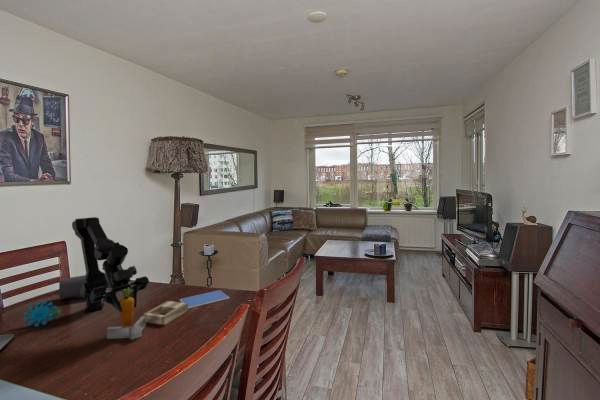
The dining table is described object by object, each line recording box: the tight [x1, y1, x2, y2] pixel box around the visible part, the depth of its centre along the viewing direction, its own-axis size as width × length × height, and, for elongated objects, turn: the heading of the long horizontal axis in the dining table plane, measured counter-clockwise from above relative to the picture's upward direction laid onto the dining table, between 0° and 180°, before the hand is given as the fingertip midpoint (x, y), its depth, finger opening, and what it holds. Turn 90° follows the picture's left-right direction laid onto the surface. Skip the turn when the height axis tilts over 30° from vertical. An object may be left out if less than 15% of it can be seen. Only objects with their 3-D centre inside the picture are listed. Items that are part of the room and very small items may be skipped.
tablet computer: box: [179, 289, 230, 310], centre depth 146 cm, size 19×13×1 cm, turn 126°
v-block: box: [106, 315, 147, 341], centre depth 114 cm, size 9×13×4 cm, turn 140°
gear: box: [23, 300, 61, 328], centre depth 124 cm, size 11×6×10 cm
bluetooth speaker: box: [58, 272, 110, 299], centre depth 152 cm, size 23×9×10 cm, turn 120°
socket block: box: [142, 300, 189, 326], centre depth 129 cm, size 10×14×3 cm
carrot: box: [118, 287, 135, 326], centre depth 115 cm, size 5×5×15 cm
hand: (128, 309), depth 114 cm, fingers closed on carrot, 5 cm apart
